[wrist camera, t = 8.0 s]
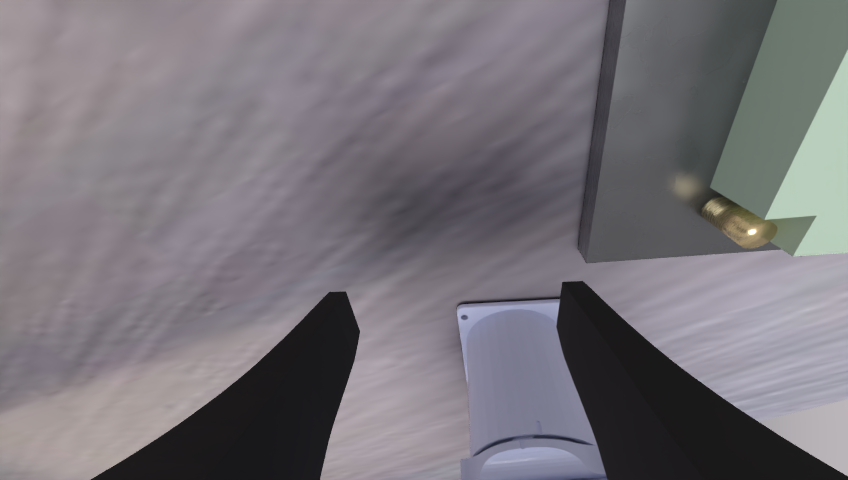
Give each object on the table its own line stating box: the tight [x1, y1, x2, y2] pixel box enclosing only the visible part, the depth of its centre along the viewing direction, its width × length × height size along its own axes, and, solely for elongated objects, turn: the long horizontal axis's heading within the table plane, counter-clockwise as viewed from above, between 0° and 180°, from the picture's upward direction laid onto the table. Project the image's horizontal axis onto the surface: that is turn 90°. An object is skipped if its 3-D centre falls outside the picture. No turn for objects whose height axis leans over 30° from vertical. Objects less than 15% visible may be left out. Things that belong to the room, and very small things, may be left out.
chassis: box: [578, 0, 781, 263], centre depth 12 cm, size 18×16×4 cm
